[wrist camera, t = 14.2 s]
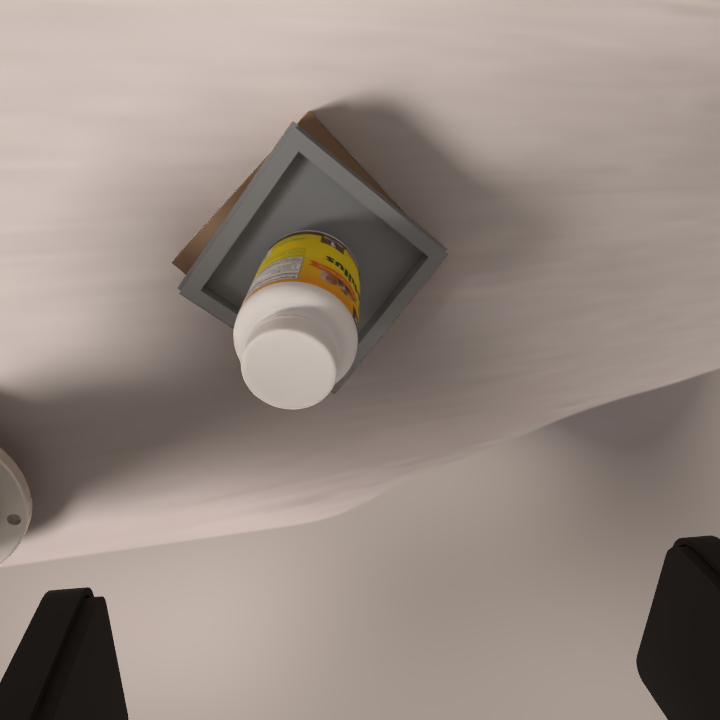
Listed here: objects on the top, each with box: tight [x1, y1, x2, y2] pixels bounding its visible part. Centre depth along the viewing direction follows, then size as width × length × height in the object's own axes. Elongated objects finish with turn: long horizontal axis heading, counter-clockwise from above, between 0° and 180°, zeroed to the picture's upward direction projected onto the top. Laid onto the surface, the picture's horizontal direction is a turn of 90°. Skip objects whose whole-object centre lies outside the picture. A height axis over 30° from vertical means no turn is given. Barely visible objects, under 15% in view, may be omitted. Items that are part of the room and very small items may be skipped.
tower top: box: [178, 122, 448, 394], centre depth 33 cm, size 11×11×4 cm
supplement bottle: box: [233, 230, 360, 410], centre depth 27 cm, size 6×6×10 cm
